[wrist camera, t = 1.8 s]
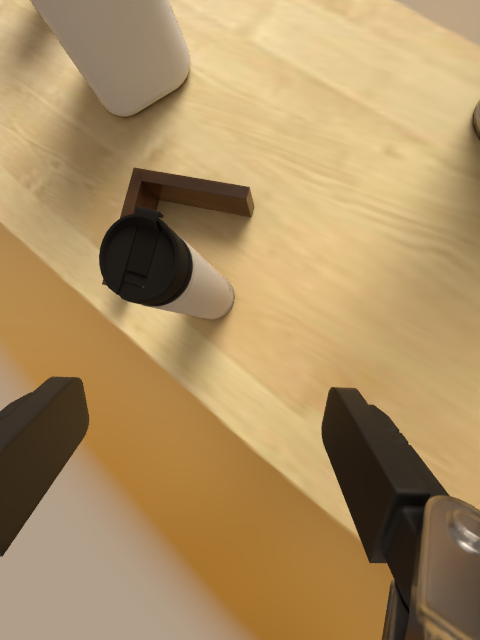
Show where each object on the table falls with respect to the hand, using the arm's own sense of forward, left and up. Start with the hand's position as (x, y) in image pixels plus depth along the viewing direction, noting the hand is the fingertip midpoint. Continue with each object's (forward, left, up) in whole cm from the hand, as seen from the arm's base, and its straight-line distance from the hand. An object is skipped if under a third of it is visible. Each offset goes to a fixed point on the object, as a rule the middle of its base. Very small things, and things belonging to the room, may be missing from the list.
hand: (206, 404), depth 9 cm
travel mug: (-6, -9, -28) cm, 30 cm away
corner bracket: (-11, -15, -28) cm, 33 cm away
